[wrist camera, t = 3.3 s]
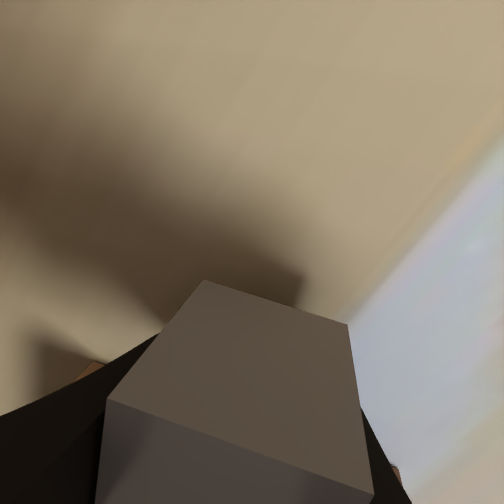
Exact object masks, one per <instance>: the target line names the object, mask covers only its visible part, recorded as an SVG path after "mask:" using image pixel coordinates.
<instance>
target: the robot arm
mask: <svg viewBox="0 0 504 504" xmlns="http://www.w3.org/2000/svg"><path fill="white" fill-rule="evenodd" d="M158 335H159V333H158V334H156V335H154V336H153V337H151V338H149V339H148V340H146V341H145V342H143V343H141V344H140V345H138V346H137V347H135V348H133V349H132V350H130V351H128V352H127V353H125V354H123V355H122V356H120V357H118V358H117V359H115V360H113V361H111V362H110V363H108V364H106V365H104V366H103V367H101V368H99V369H97V370H96V371H94V372H92V373H90V374H88V375H87V376H85V377H83V378H81V379H79V380H77V381H75V382H73V383H71V384H69V385H67V386H65V387H63V388H61V389H59V390H57V391H55V392H53V393H51V394H49V395H47V396H45V397H43V398H41V399H39V400H36V401H34V402H32V403H30V404H28V405H25V406H23V407H21V408H18V409H16V410H14V411H11V412H9V413H7V414H4V415H2V416H0V504H95V497H96V488H97V480H98V471H99V462H100V453H101V445H102V436H103V427H104V419H105V410H106V401H107V397H108V396H109V395H110V394H111V392H112V391H113V390H114V389H115V388H116V386H117V385H118V384H119V383H120V381H121V380H122V379H123V378H124V376H125V375H126V374H127V373H128V372H129V370H130V369H131V368H132V367H133V365H134V364H135V363H136V362H137V360H138V359H139V358H140V357H141V356H142V354H143V353H144V352H145V351H146V349H147V348H148V347H149V346H150V345H151V343H152V342H153V341H154V340H155V338H156V337H157V336H158ZM361 414H362V420H363V426H364V433H365V439H366V445H367V452H368V458H369V464H370V470H371V477H372V483H373V489H374V497H373V498H372V500H371V502H370V503H369V504H412V502H411V501H410V499H409V497H408V495H407V494H406V492H405V490H404V488H403V487H402V485H401V483H400V481H399V479H398V478H397V476H396V474H395V472H394V470H393V468H392V467H391V465H390V463H389V461H388V459H387V457H386V455H385V454H384V452H383V450H382V448H381V446H380V444H379V442H378V440H377V438H376V436H375V434H374V432H373V430H372V428H371V426H370V424H369V422H368V420H367V418H366V416H365V414H364V412H363V410H362V408H361Z"/></svg>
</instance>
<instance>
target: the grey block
mask: <svg viewBox="0 0 504 504" xmlns="http://www.w3.org/2000/svg"><path fill="white" fill-rule="evenodd" d="M373 497H374V489H373V483H372V477H371V470H370V464H369V458H368V452H367V445H366V439H365V433H364V426H363V420H362V414H361V407H360V401H359V395H358V389H357V382H356V376H355V370H354V363H353V357H352V351H351V345H350V338H349V332H348V326H347V325H346V324H343V323H340V322H337V321H333V320H330V319H327V318H324V317H321V316H318V315H315V314H311V313H308V312H305V311H302V310H299V309H296V308H292V307H289V306H286V305H283V304H280V303H277V302H274V301H270V300H267V299H264V298H261V297H258V296H255V295H251V294H248V293H245V292H242V291H239V290H236V289H233V288H229V287H226V286H223V285H220V284H217V283H214V282H211V281H207V280H204V279H203V281H202V282H201V283H200V284H199V286H198V287H197V288H196V289H195V291H194V292H193V293H192V294H191V295H190V297H189V298H188V299H187V300H186V302H185V303H184V304H183V305H182V306H181V308H180V309H179V310H178V311H177V313H176V314H175V315H174V316H173V318H172V319H171V320H170V321H169V322H168V324H167V325H166V326H165V327H164V329H163V330H162V331H161V332H160V333H159V335H158V336H157V337H156V338H155V340H154V341H153V342H152V343H151V345H150V346H149V347H148V348H147V349H146V351H145V352H144V353H143V354H142V356H141V357H140V358H139V359H138V360H137V362H136V363H135V364H134V365H133V367H132V368H131V369H130V370H129V372H128V373H127V374H126V375H125V376H124V378H123V379H122V380H121V381H120V383H119V384H118V385H117V386H116V388H115V389H114V390H113V391H112V392H111V394H110V395H109V396H108V397H107V401H106V410H105V419H104V427H103V436H102V445H101V453H100V462H99V471H98V480H97V488H96V497H95V504H369V503H370V502H371V500H372V498H373Z"/></svg>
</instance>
